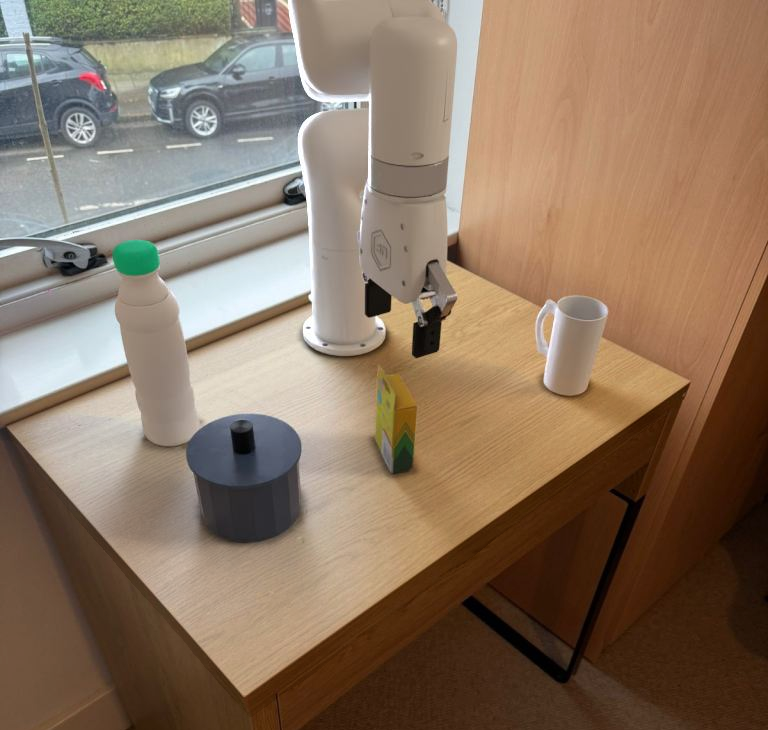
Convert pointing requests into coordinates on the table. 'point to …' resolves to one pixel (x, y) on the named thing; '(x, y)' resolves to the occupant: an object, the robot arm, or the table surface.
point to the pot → (251, 508)
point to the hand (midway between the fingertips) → (400, 333)
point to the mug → (571, 342)
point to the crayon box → (395, 422)
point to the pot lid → (243, 451)
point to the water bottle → (154, 346)
